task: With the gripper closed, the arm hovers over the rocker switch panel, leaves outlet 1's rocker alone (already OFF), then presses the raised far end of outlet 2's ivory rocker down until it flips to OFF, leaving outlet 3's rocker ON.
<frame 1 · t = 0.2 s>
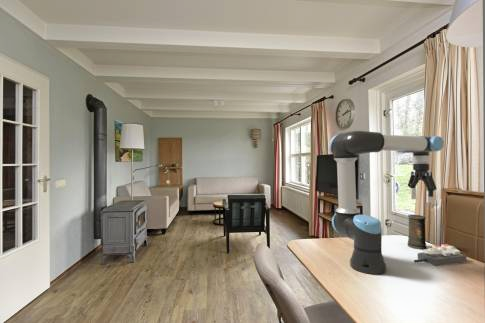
hand: (421, 200, 141), 27 cm above the table, fingers open, 13 cm apart
container: (416, 247, 145), on the table
rocker switch panel: (441, 260, 125), on the table
rocker 2: (441, 250, 125), point 5 cm above the table, hinge at 15.0°
rocker 1: (432, 251, 123), point 5 cm above the table, hinge at -15.0°
rocker 3: (450, 249, 126), point 5 cm above the table, hinge at 15.0°
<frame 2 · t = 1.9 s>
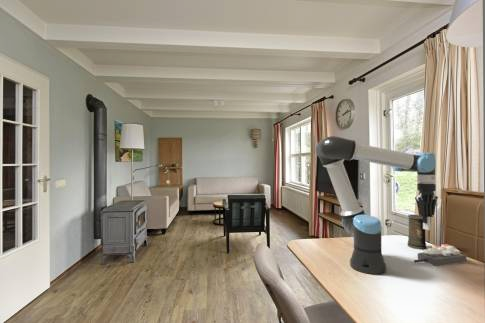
hand: (426, 229, 127), 15 cm above the table, fingers closed
nothing on the table moved.
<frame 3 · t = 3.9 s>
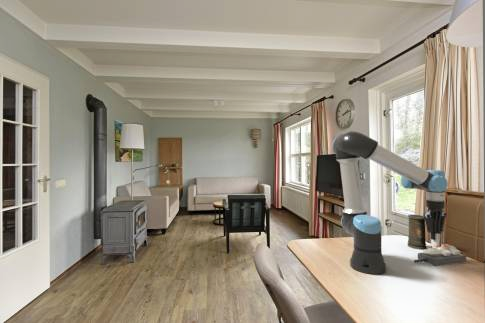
hand: (434, 245, 128), 6 cm above the table, fingers closed
rocker 2: (441, 250, 125), point 5 cm above the table, hinge at 12.1°, touching gripper
everything else where it was.
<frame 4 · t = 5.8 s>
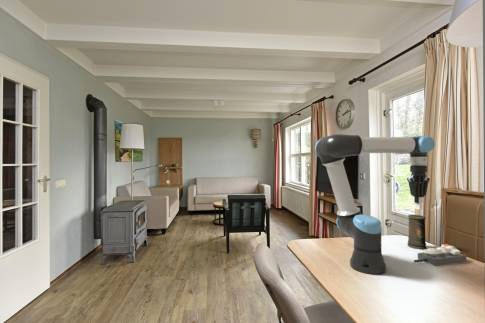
hand: (418, 209, 133), 24 cm above the table, fingers closed
rocker 2: (441, 250, 125), point 5 cm above the table, hinge at -17.1°
everything else where it was.
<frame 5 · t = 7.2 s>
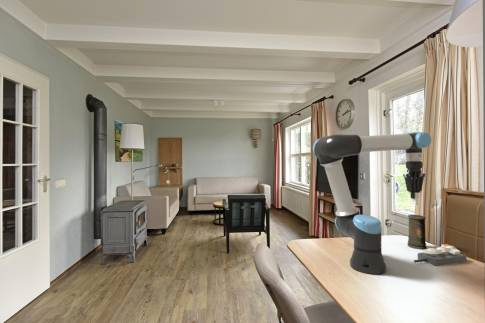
hand: (414, 204, 135), 26 cm above the table, fingers closed
rocker 2: (441, 250, 125), point 5 cm above the table, hinge at -23.3°, touching rocker switch panel
everything else where it was.
at the end: rocker 2 at -23° (first picture: +15°); rocker 1 at -15° (first picture: -15°); rocker 3 at +15° (first picture: +15°) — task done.
